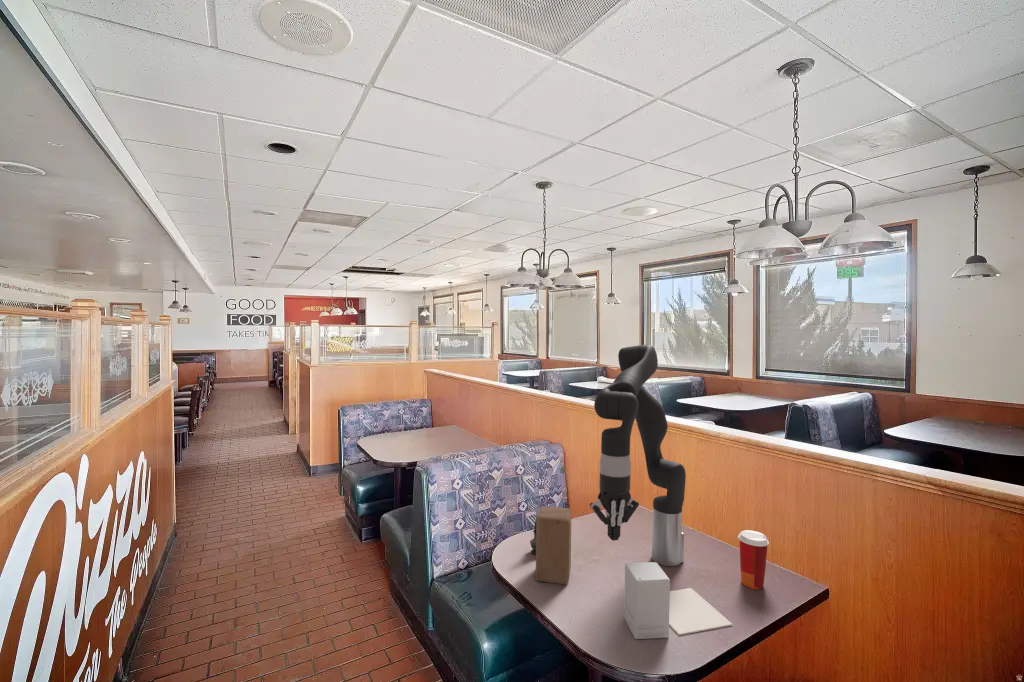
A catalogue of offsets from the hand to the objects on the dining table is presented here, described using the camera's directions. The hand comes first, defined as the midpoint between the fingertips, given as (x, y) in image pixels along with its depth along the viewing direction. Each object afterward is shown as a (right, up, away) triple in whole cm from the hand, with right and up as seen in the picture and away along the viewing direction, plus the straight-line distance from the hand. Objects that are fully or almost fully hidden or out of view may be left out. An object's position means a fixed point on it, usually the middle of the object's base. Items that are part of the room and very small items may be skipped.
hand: (613, 539), depth 116 cm
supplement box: (+9, -25, +3) cm, 26 cm away
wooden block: (-13, -23, +27) cm, 38 cm away
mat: (+22, -24, +10) cm, 34 cm away
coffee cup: (+47, -24, +24) cm, 58 cm away
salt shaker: (-17, -23, +42) cm, 51 cm away
